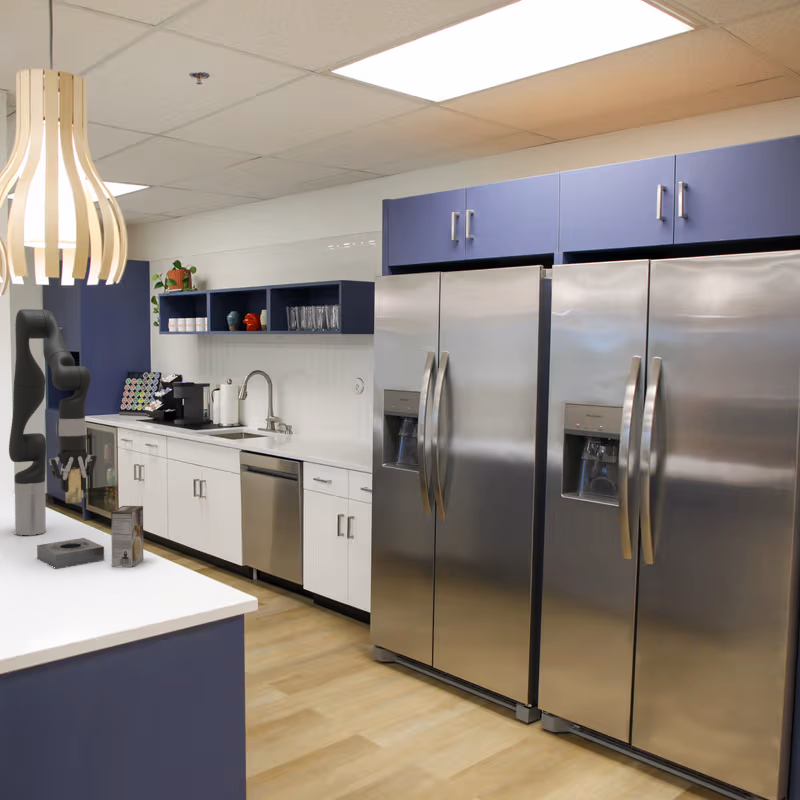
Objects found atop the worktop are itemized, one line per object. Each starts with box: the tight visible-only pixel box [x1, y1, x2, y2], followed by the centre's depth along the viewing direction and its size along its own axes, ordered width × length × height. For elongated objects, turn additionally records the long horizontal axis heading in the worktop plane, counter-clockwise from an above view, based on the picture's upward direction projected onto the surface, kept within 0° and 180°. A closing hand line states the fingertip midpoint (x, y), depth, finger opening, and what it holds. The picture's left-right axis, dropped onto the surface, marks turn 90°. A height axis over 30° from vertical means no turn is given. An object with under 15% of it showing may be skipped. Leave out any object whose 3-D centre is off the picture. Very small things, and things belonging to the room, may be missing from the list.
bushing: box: [64, 467, 83, 504], centre depth 236 cm, size 4×4×10 cm
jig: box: [36, 537, 105, 569], centre depth 235 cm, size 14×14×4 cm
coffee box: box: [110, 505, 144, 568], centre depth 233 cm, size 9×6×16 cm
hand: (73, 490), depth 236 cm, fingers closed on bushing, 4 cm apart
